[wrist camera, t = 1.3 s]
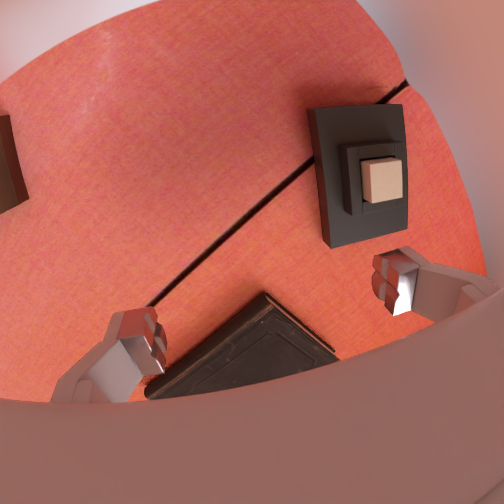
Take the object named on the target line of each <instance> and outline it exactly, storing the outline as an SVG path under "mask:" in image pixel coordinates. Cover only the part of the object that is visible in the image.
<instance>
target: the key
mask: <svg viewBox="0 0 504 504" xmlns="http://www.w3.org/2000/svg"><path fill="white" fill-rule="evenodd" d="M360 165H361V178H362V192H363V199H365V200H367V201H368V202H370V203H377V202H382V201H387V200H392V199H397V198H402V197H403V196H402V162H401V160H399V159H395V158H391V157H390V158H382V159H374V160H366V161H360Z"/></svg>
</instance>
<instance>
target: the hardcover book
mask: <svg viewBox="0 0 504 504" xmlns="http://www.w3.org/2000/svg"><path fill="white" fill-rule="evenodd" d="M334 352H335V350H334V349H332V348H331V347H330V346H329V345H328V344H326V343H325V342H324V341H323V340H322V339H320V338H319V337H318V336H317V335H316V334H315V333H313V332H312V331H311V330H310V329H309V328H307V327H306V326H305V325H304V324H303V323H302V322H300V321H299V320H298V319H297V318H296V317H295V316H293V315H292V314H291V313H290V312H289V311H287V310H286V309H285V308H284V307H283V306H282V305H280V304H279V303H278V302H277V301H276V300H275V299H274V298H272V297H271V296H270V295H269V294H268V293H266V292H264V293H262V294H261V295H260V296H259V297H258V298H256V299H255V300H254V301H253V302H252V303H251V304H249V305H248V306H247V307H246V308H245V309H243V310H242V311H241V312H240V313H239V314H237V315H236V316H235V317H234V318H232V319H231V320H230V321H229V322H228V323H226V324H225V325H224V326H223V327H222V328H220V329H219V330H218V331H217V332H215V333H214V334H213V335H212V336H210V337H209V338H208V339H207V340H205V341H204V342H203V343H202V344H200V345H199V346H198V347H197V348H195V349H194V350H193V351H192V352H190V353H189V354H188V355H187V356H185V357H184V358H183V359H182V360H180V361H179V362H178V363H176V364H175V365H174V366H173V367H171V368H170V369H169V370H167V371H166V372H165V373H164V374H162V375H161V376H160V377H158V378H157V379H156V380H154V381H153V382H152V383H150V384H149V385H148V386H147V387H145V390H144V395H145V397H146V398H147V399H149V400H158V399H167V398H176V397H184V396H191V395H198V394H204V393H211V392H217V391H222V390H228V389H233V388H238V387H243V386H248V385H253V384H257V383H262V382H266V381H270V380H274V379H278V378H282V377H286V376H290V375H294V374H298V373H301V372H305V371H308V370H312V369H315V368H319V367H322V366H325V365H329V364H332V363H335V362H338V361H340V359H338V358H337V357H336V355H335V354H334Z"/></svg>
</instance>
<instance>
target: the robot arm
mask: <svg viewBox="0 0 504 504" xmlns="http://www.w3.org/2000/svg"><path fill="white" fill-rule="evenodd" d="M372 266H373V267H374V269H375V272H374V273H373V275H372V287H373V291H374V293H375V295H376V296H377V297H378V299H380V300H383V301H385V307H386V308H387V309H388V310H389V312H390V313H391V314H392V315H393V316H395V315H398V314H400V313H403V312H406V311H409V310H411V311H413V312H415V313H417V314H419V315H422V316H424V317H426V318H428V319H430V320H432V321H434V322H436V323H435V324H433V325H431V326H429V327H427V328H424V329H422V330H420V331H418V332H415V333H413V334H411V335H408V336H406V337H404V338H401V339H399V340H396V341H394V342H391V343H389V344H386V345H383V346H381V347H378V348H376V349H373V350H370V351H367V352H365V353H362V354H359V355H356V356H353V357H350V358H347V359H344V360H341V361H338V362H335V363H332V364H329V365H325V366H322V367H319V368H315V369H312V370H308V371H305V372H301V373H298V374H294V375H290V376H286V377H282V378H278V379H274V380H270V381H266V382H262V383H257V384H253V385H248V386H243V387H238V388H233V389H228V390H222V391H217V392H211V393H204V394H198V395H191V396H184V397H176V398H167V399H158V400H147V401H135V402H126V401H127V400H128V398H129V397H130V395H131V394H132V392H133V391H134V390H135V388H136V387H137V385H138V384H139V382H140V381H141V379H142V378H143V377H142V376H149V375H155V374H162V373H164V372H165V362H166V359H165V357H164V355H163V354H164V353H165V351H166V350H167V340H166V335H165V331H164V329H163V327H162V325H161V324H159V323H158V322H157V317H158V315H157V313H156V311H155V309H154V308H153V307H152V306H151V307H145V308H139V309H133V310H127V311H121V312H116V313H114V314H113V315H112V318H111V321H110V323H109V326H108V329H107V331H106V334H105V337H104V340H103V342H99V343H98V344H97V345H96V346H95V347H93V348H92V349H91V350H90V351H89V352H88V353H87V354H86V355H85V356H84V357H82V358H81V359H80V360H79V361H78V362H77V363H76V364H75V365H74V366H73V367H72V368H71V369H69V370H68V371H67V372H66V373H65V374H64V375H63V376H62V377H61V378H60V379H59V380H58V382H57V384H56V387H55V390H54V393H53V395H52V398H51V401H50V403H47V402H32V401H20V400H11V399H3V398H0V504H504V287H503V288H501V289H500V288H499V287H498V286H496V285H495V284H494V283H493V282H491V281H490V280H489V279H488V278H486V277H485V276H483V275H480V274H476V273H472V272H468V271H465V270H461V269H457V268H453V267H449V266H445V265H441V264H437V263H430V262H429V261H428V260H426V259H425V258H424V257H422V256H421V255H420V254H418V253H417V252H416V251H414V250H413V249H412V248H410V247H408V246H405V247H401V248H398V249H396V250H392V251H389V252H386V253H382V254H379V255H376V256H374V258H373V265H372Z"/></svg>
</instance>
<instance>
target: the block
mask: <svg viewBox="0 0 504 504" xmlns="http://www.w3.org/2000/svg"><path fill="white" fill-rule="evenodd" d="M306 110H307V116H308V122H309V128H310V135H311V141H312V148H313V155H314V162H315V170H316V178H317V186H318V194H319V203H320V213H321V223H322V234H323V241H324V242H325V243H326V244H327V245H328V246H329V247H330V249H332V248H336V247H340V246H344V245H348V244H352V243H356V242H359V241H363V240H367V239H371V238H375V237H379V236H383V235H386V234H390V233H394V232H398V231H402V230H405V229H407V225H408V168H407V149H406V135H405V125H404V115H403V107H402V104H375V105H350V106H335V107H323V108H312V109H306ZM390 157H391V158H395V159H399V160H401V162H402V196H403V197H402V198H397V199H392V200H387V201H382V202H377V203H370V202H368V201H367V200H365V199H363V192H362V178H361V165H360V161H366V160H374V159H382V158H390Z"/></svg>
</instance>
